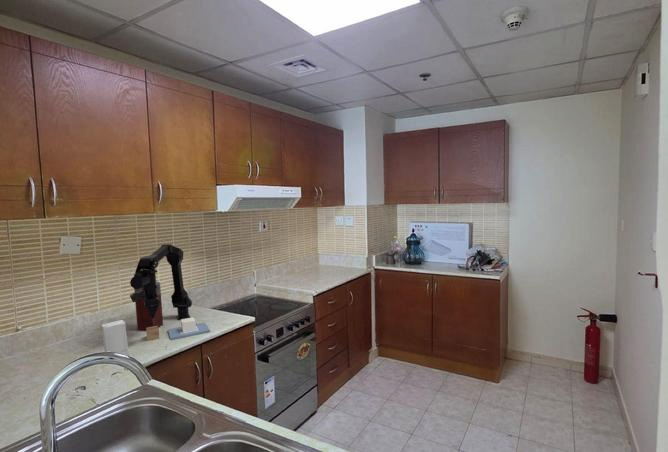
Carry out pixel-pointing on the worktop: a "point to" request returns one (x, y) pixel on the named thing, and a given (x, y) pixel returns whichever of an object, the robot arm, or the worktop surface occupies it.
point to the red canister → (148, 313)
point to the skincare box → (115, 337)
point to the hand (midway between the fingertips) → (152, 315)
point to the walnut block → (152, 333)
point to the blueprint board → (177, 332)
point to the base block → (188, 325)
